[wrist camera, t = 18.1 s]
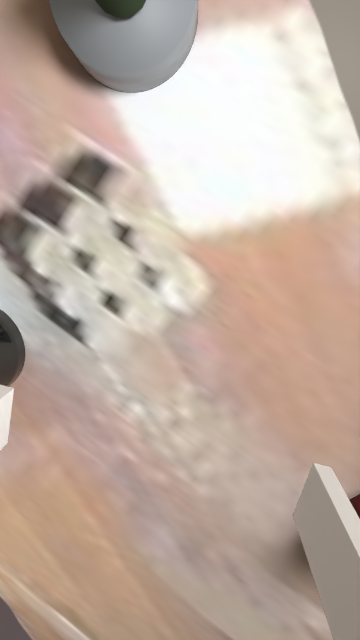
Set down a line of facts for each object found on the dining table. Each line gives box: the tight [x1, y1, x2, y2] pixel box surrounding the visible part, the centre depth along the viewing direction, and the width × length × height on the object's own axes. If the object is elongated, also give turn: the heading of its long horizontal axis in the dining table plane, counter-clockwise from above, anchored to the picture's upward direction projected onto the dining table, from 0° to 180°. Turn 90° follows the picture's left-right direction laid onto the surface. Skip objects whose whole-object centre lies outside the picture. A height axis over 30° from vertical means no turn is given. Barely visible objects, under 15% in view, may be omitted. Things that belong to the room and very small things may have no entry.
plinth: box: [49, 0, 198, 92], centre depth 38 cm, size 16×16×5 cm
